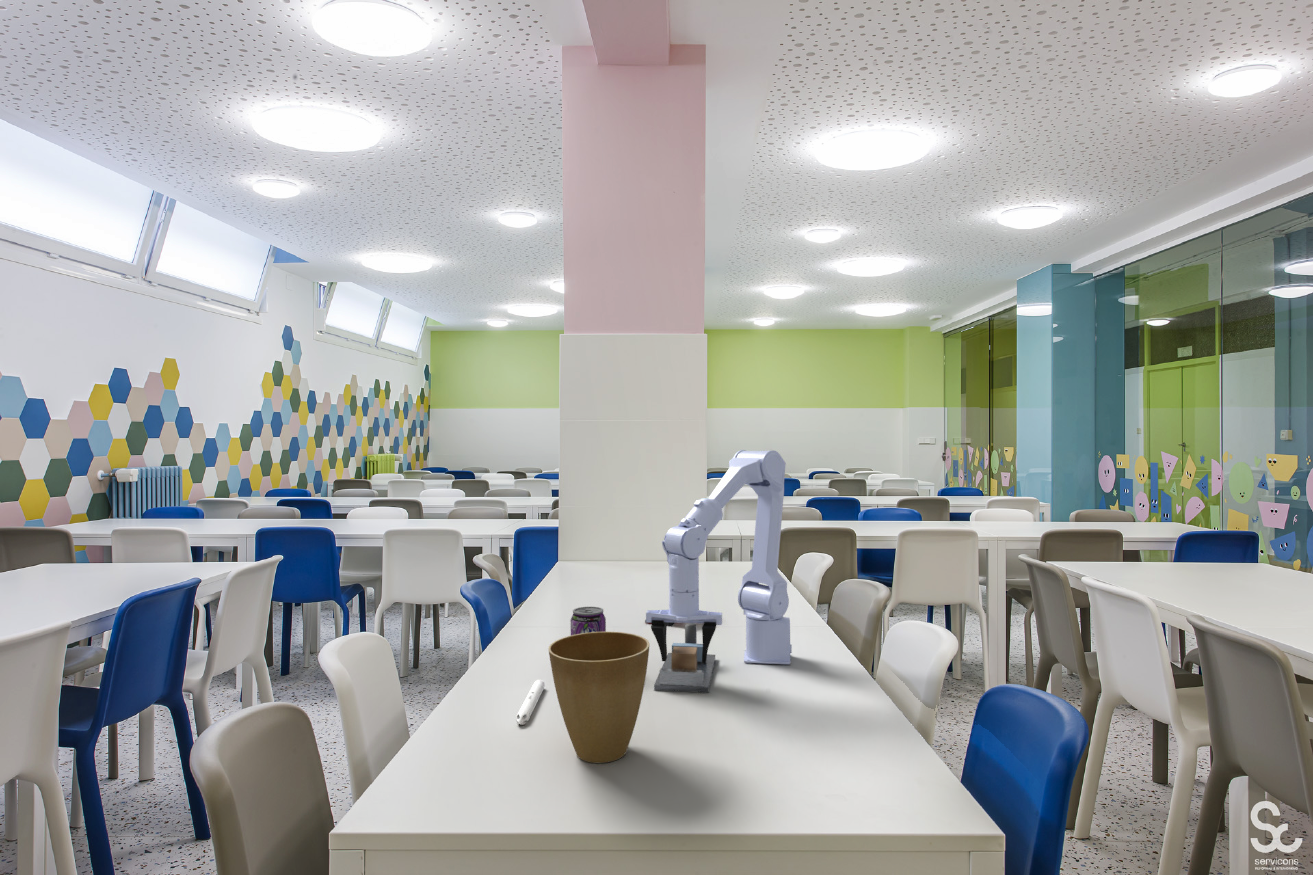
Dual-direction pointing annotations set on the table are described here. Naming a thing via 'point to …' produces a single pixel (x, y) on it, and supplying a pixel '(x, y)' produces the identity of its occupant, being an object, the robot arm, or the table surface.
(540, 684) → the marker
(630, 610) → the table surface
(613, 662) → the plant pot
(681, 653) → the brown block
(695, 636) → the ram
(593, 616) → the beverage can
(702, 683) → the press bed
